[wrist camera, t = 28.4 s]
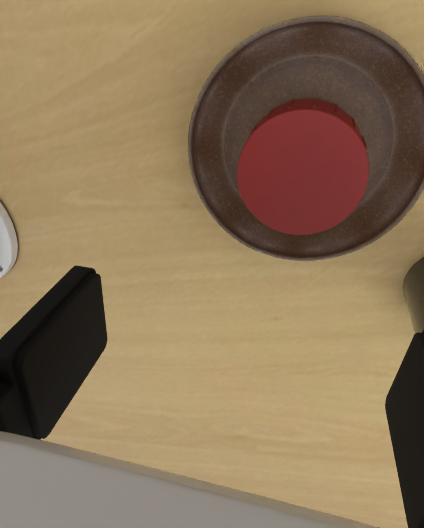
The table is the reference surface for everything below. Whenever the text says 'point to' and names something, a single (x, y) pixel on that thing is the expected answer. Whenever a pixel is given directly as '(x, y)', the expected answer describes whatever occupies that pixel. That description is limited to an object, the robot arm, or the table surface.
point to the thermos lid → (303, 167)
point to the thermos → (415, 295)
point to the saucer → (323, 88)
